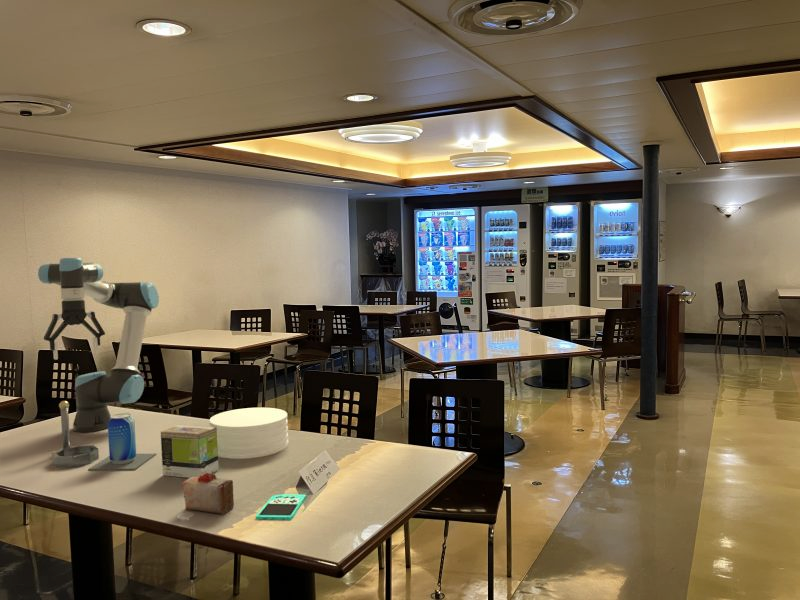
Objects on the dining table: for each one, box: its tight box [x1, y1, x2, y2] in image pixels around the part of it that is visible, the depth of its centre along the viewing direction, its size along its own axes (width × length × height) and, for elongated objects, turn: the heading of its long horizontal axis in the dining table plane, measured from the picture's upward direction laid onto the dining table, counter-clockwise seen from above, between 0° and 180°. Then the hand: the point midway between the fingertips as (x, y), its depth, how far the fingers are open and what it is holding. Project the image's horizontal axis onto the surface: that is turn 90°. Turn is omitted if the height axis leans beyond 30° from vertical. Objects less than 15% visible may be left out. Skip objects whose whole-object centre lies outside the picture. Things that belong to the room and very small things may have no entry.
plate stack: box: [208, 407, 289, 460], centre depth 227 cm, size 28×28×12 cm
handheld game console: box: [255, 493, 307, 521], centre depth 170 cm, size 10×16×1 cm, turn 174°
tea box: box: [160, 423, 219, 479], centre depth 200 cm, size 15×10×15 cm
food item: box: [182, 472, 235, 515], centre depth 170 cm, size 14×8×10 cm, turn 71°
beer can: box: [107, 412, 137, 464], centre depth 212 cm, size 8×8×16 cm
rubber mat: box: [87, 453, 157, 471], centre depth 212 cm, size 16×16×1 cm
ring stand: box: [51, 400, 100, 469], centre depth 217 cm, size 18×18×20 cm
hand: (76, 356), depth 227 cm, fingers open, 13 cm apart
